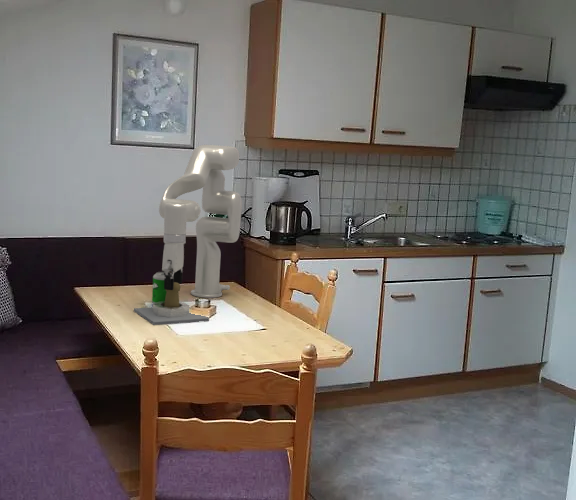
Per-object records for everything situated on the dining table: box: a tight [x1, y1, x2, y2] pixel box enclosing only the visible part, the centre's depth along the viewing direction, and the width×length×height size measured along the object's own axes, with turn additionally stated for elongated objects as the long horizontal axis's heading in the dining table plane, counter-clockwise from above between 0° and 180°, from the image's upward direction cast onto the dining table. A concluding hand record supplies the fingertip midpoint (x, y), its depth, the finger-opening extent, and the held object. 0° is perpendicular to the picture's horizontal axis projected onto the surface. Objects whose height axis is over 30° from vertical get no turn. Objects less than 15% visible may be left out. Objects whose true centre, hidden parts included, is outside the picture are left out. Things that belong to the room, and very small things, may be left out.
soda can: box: [151, 271, 171, 305], centre depth 263 cm, size 8×8×12 cm
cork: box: [164, 282, 181, 308], centre depth 248 cm, size 6×6×11 cm
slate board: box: [133, 306, 210, 326], centre depth 248 cm, size 20×20×1 cm
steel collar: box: [152, 301, 190, 318], centre depth 248 cm, size 12×12×3 cm
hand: (173, 286), depth 248 cm, fingers open, 9 cm apart
